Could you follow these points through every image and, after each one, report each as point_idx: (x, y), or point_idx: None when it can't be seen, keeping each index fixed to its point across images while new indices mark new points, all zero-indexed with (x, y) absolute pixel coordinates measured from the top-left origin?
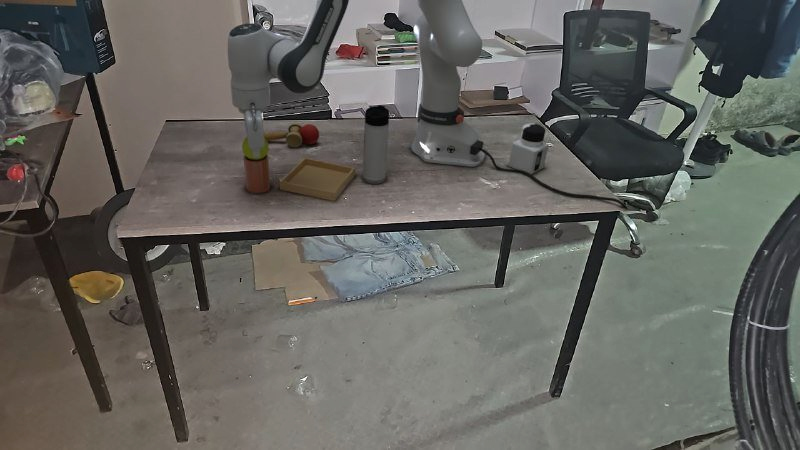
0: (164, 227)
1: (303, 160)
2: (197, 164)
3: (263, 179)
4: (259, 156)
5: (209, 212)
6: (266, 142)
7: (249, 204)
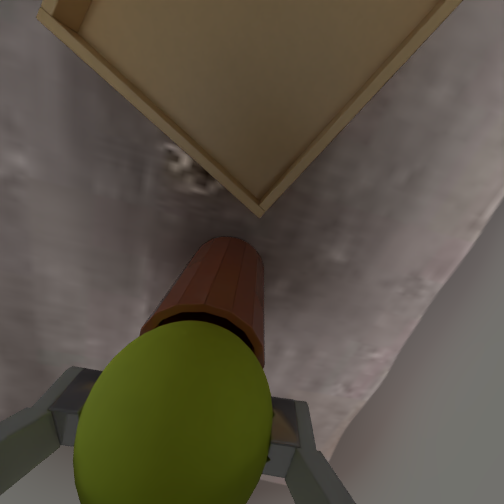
0: (331, 452)
1: (73, 37)
2: (63, 372)
3: (262, 284)
4: (306, 406)
5: (311, 390)
6: (202, 406)
7: (314, 312)
